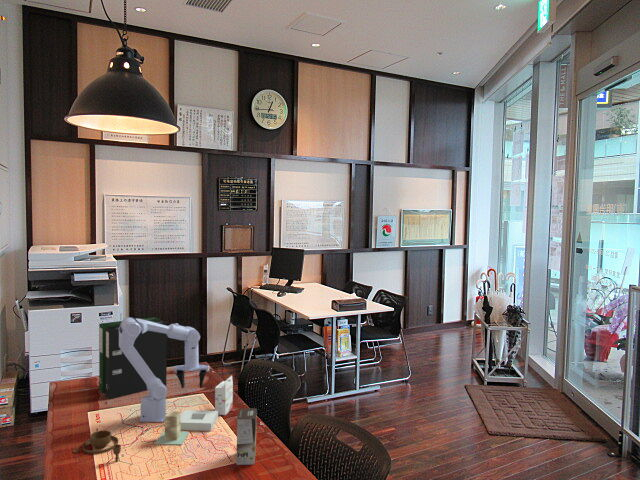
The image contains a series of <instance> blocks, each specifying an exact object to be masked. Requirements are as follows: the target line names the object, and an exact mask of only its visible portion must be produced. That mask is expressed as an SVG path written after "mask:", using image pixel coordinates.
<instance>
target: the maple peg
mask: <svg viewBox="0 0 640 480" xmlns="http://www.w3.org/2000/svg"><path fill="white" fill-rule="evenodd" d="M166 413H167V414H166V415H165V420H164V431H165V440H177V439H178V437H179V436H180V431H181V430H180V421H181V414H182V411H177V410H176V411H174V410H173V411H171V410H169V411H167V412H166Z"/></svg>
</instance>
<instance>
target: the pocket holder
mask: <svg viewBox="0 0 640 480" xmlns="http://www.w3.org/2000/svg"><path fill="white" fill-rule="evenodd" d="M218 418H219V415H218V411H215V410H207V409H206V410H205V409H204V410H201V409H200V410H199V409H184V410H183V411H182V412H181V421H180V431H203V432H205V431H206V432H212V430H213V428H214V426H215V424H216V422H217V421H218Z"/></svg>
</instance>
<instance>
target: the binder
mask: <svg viewBox="0 0 640 480" xmlns="http://www.w3.org/2000/svg"><path fill="white" fill-rule="evenodd" d="M134 319H135V318H134ZM142 319H143V320H147V321H151V322H155V323H158V324H162V325H166V326H168V320H167V321H165V320H164V319H163V320H160V317H158V318H157V316H153V317H152V316H151V317H146V318H145V317H143V318H142ZM135 320H136V319H135ZM122 321H123V320H120V321H119V320H117V321H110V322H103V323H101V322H100V323H99V329H98V331H99V335H98V336H99V338H98V339H99V340H98V343H99V344H98V345H99V346H98V351H99V352H98V353H99V354H98V357H99V359H98V360H99V362H98V363H99V364H98V365H99V367H98V372H99V375H98V378H99V379H98V382H99V383H98V385H99V387H98V390H99V392H100V393H101V394H103V395H104V394H105V397H106V399H108V401H109V400H112V399H118V398H122V397H125V396H131V395H135V394H139V393H143V392H147V391H148V390H147V386H146V383H145V382H144V380H143V379H142V378H141V376H140V375H139V374H138V372H137V371H136V370H135V368H134V367H133V365H132V364H131V363H130V361H129V360H128V359H127V357H126V356H125V355H124V353H123V352H122V350H121V349H120V347H119V327H120V324H121V322H122ZM136 321H137V320H136ZM167 339H168V336H167V334H165V333H159V332H154V331H146V332H145V333H143V334H142V333H141V332H140V334H139V335H138V337H137V338H136V339H135V342H134V345H133V346H134V348H135V349H136V350H137V352H138V353H139V355H140V356H141V357H142V359H143V360H144V362H145V363H146V364H147V366H148V367H149V368H150V370H151V371H152V373H153V374H154V375H155V377H156V378H159V379H160V380H161V381H162V383H163V384H164V385H165V386H166V387H167V375H168V374H167V366H168V365H167V364H168V363H167V362H168V361H167V360H168V359H167V357H168V356H167V354H168V353H167V352H168V351H167V350H168V349H167V348H168V343H167V342H168V341H167Z"/></svg>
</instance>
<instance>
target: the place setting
mask: <svg viewBox="0 0 640 480" xmlns="http://www.w3.org/2000/svg"><path fill="white" fill-rule="evenodd" d="M111 441H114V444H113V446H110V447H108V448H106V447H107V446H108V444H110V442H111ZM88 445H91V446H92V447H93V448H95V449H97V450H90V449H87V448H86V446H88ZM79 448H80V445H78V446H77V447H76V448H74V449H73V453H74V454H76V453H79V451H80V449H79ZM81 448H82V451H83V452H84V453H87V454H89V455H90V454H92V455H93V454H95V455H96V454H97V455H98V454H104V453H107V452H110V451H112V452H113V455H115V456H114V457H115V459H114V460H115V463H118V462H119V459H120V458H119V455H120V454H121V451H122V446H121V444H119V438H118V437H117V436H114V435H112V431H109V430H105V429H104V430H98V431H95V432H93V433H91V434H90V435H89V438H88V439H87V440H86V441H84V442H83V444H82V447H81ZM104 448H105V449H104Z"/></svg>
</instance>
